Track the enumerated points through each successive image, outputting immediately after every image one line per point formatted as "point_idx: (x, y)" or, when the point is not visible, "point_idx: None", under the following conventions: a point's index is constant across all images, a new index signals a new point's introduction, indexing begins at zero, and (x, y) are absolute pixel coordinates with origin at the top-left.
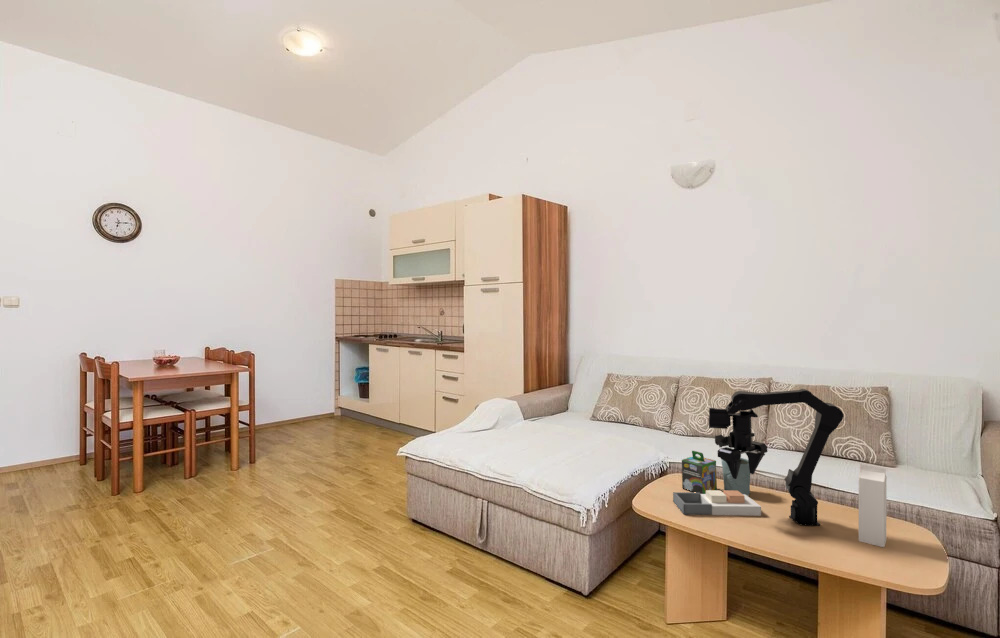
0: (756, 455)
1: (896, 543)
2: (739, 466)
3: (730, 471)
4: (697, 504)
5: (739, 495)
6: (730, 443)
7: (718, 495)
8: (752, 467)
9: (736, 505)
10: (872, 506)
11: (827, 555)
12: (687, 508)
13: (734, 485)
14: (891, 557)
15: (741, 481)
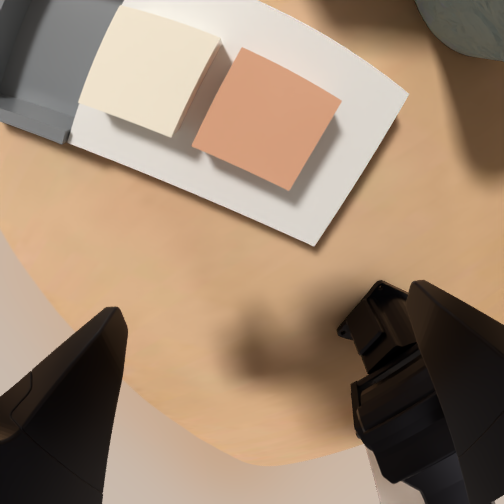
0: (492, 484)
1: None
2: (95, 481)
3: (56, 352)
4: (5, 122)
5: (263, 171)
6: None
7: (120, 115)
8: (438, 349)
9: (202, 183)
10: (375, 483)
11: (218, 418)
12: None
13: (450, 5)
14: (323, 435)
15: (487, 39)
